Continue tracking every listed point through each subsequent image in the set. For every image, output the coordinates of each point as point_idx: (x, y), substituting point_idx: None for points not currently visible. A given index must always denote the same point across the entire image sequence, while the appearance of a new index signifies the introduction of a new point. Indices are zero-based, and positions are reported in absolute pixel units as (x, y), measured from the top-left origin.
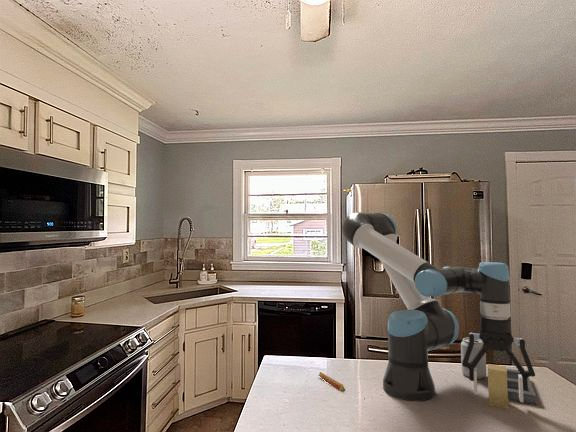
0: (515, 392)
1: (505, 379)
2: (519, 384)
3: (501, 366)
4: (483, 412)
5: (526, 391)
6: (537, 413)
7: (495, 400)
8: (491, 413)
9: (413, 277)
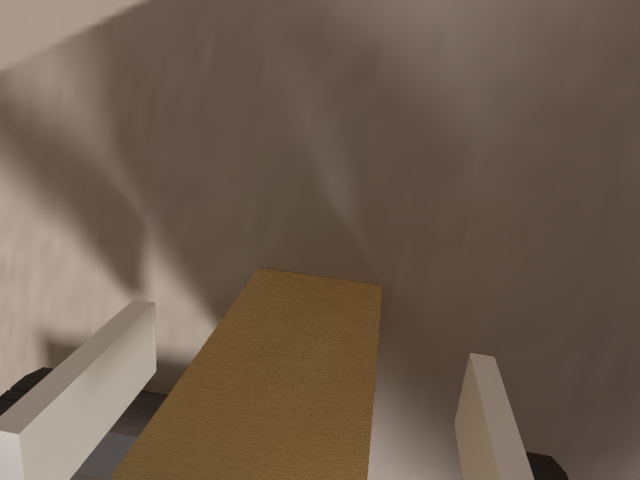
0: None
1: (182, 403)
2: (74, 391)
3: None
4: (455, 142)
5: (96, 471)
6: (85, 256)
7: (334, 300)
8: (394, 146)
9: None
